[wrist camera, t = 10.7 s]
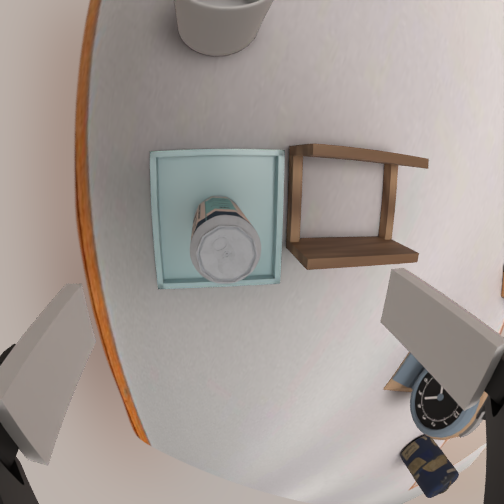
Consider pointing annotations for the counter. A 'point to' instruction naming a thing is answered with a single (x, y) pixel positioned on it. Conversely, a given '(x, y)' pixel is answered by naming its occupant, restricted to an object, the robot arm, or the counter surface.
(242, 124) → the counter surface
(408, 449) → the canister
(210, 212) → the beer can
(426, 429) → the alarm clock
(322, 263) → the cradle
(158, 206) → the tray
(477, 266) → the counter surface
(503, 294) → the small box
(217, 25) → the mug
